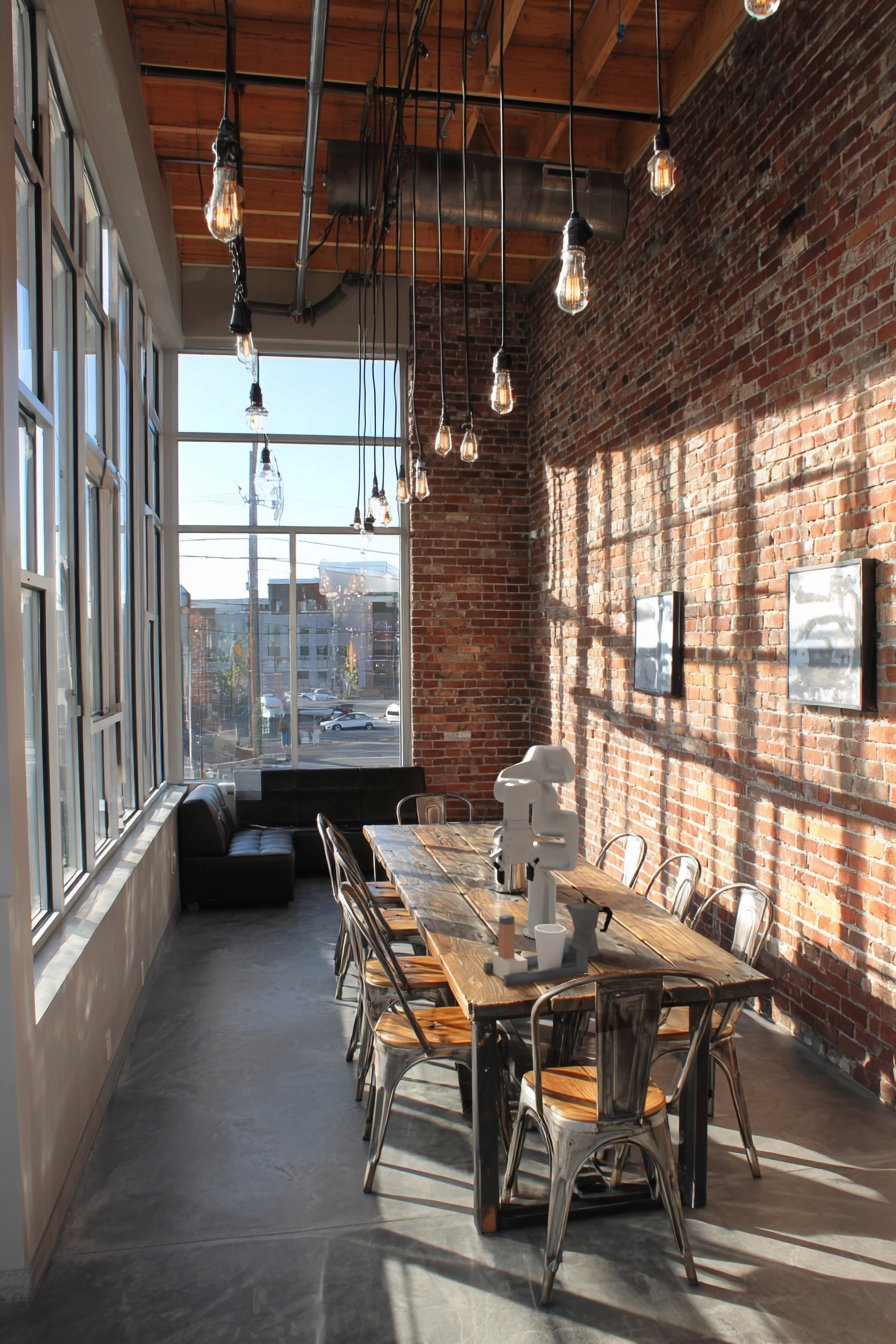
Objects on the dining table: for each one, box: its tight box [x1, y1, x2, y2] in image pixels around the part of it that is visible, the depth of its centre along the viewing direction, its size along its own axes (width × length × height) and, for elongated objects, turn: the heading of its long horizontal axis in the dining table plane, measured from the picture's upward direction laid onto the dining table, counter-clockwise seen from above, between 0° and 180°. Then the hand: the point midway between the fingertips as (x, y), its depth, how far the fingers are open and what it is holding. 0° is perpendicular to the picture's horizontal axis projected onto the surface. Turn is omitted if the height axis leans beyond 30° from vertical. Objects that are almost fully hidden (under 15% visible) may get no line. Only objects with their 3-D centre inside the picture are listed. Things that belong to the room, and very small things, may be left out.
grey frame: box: [483, 935, 589, 987], centre depth 279 cm, size 14×28×8 cm, turn 115°
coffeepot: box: [564, 896, 614, 958], centre depth 300 cm, size 15×9×18 cm, turn 69°
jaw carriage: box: [492, 914, 528, 980], centre depth 276 cm, size 10×6×18 cm, turn 25°
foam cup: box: [534, 924, 567, 970], centre depth 281 cm, size 10×9×13 cm
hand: (515, 881), depth 280 cm, fingers open, 9 cm apart
